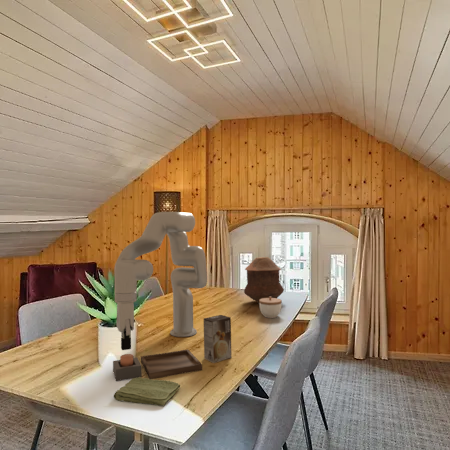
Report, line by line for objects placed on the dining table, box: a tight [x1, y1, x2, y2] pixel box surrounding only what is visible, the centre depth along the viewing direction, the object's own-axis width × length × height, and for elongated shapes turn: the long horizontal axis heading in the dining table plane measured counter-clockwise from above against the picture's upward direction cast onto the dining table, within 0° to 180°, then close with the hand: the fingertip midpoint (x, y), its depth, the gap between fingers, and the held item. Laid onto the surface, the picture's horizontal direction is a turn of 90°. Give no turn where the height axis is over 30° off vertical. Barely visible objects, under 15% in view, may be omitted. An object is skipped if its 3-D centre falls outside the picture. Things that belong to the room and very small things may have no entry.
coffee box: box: [203, 314, 233, 364], centre depth 147 cm, size 9×6×16 cm
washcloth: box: [113, 377, 181, 407], centre depth 117 cm, size 13×18×3 cm
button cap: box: [119, 353, 134, 367], centre depth 132 cm, size 4×4×3 cm
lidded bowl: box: [258, 296, 282, 319], centre depth 210 cm, size 13×13×11 cm
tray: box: [140, 349, 203, 380], centre depth 139 cm, size 17×19×2 cm
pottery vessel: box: [243, 256, 285, 305], centre depth 242 cm, size 26×26×30 cm
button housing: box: [112, 356, 143, 382], centre depth 132 cm, size 9×9×4 cm
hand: (126, 348), depth 132 cm, fingers closed
